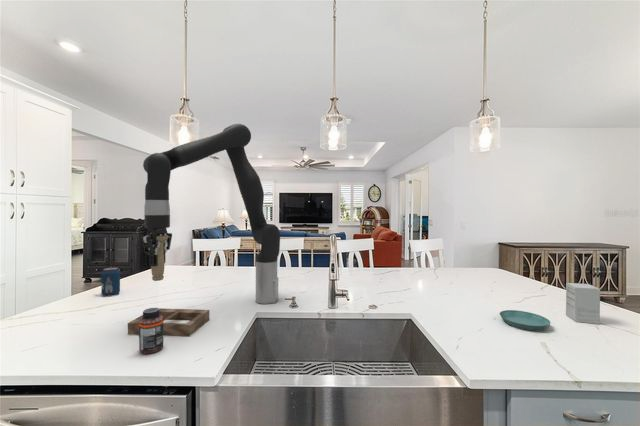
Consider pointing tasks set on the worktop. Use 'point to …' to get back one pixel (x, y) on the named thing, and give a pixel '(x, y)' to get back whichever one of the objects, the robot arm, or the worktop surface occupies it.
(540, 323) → the saucer
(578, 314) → the supplement box
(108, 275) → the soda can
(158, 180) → the robot arm
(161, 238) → the handle
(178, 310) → the brown wooden frame
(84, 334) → the worktop surface
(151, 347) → the supplement bottle
